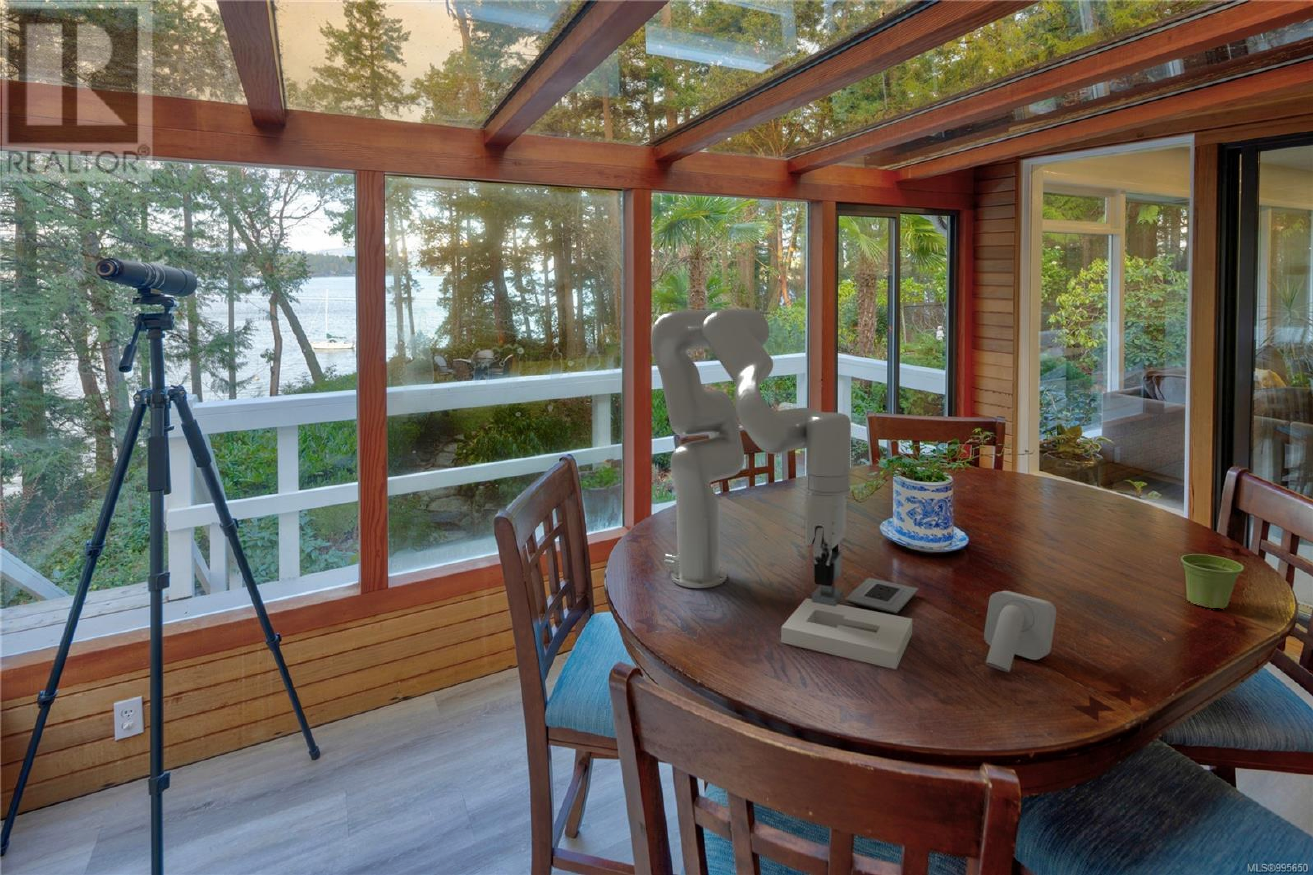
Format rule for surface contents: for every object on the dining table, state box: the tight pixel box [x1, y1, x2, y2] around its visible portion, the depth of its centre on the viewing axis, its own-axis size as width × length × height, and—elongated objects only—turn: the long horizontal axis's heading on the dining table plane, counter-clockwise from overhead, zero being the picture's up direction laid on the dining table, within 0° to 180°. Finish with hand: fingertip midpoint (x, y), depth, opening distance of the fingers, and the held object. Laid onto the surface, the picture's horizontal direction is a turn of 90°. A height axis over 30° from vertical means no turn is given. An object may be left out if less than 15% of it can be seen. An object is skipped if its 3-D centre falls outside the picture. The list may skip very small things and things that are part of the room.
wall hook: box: [983, 590, 1057, 673], centre depth 111 cm, size 10×12×12 cm
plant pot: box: [1180, 553, 1245, 608], centre depth 129 cm, size 9×9×9 cm
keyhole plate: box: [780, 597, 913, 670], centre depth 121 cm, size 20×14×3 cm
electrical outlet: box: [844, 577, 919, 615], centre depth 136 cm, size 13×10×2 cm
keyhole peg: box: [811, 551, 844, 606], centre depth 121 cm, size 4×4×9 cm
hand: (827, 579), depth 121 cm, fingers closed on keyhole peg, 4 cm apart
